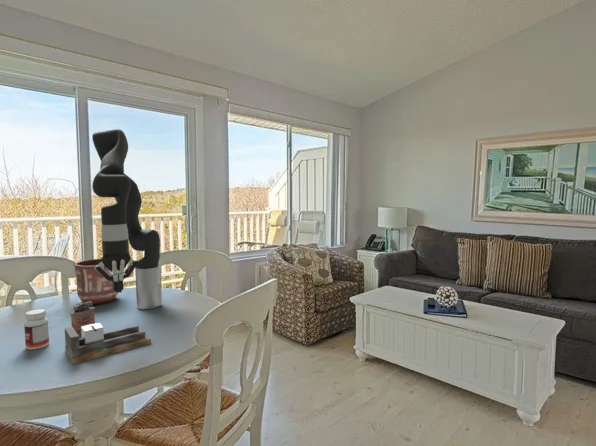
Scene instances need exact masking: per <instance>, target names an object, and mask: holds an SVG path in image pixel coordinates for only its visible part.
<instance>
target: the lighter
mask: <svg viewBox="0 0 596 446" xmlns="http://www.w3.org/2000/svg"><path fill="white" fill-rule="evenodd" d="M73 309H74V311H71V312H70V313H69V315H70V317H71V320H70V321H71V327H73V329H74V330H75V331H76V333H77V334H78V335H80V334H82V333H81V326H86V325H91V324H95V323H96V319H95V318H96V317H95V310H96V307H95V306H93V305H92V301H90V302H86V303H84V302H80V303H78V304H77V305H73Z"/></svg>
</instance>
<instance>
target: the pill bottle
mask: <svg viewBox="0 0 596 446" xmlns="http://www.w3.org/2000/svg"><path fill="white" fill-rule="evenodd" d="M46 315H47V312H46V309H42V308H41V309H33V310H28V311H26V313H25V322H24V326H23V327H24V339H25V348H26V349H27V350H39V349H43V348H46V347H47V346H48V345H49V344H50V333H49V319H48V318H47V317H46Z"/></svg>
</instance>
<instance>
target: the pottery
mask: <svg viewBox="0 0 596 446" xmlns="http://www.w3.org/2000/svg"><path fill="white" fill-rule="evenodd" d="M101 259H102V258H95V259H94V258H93V259H87V260H81V261H77V262H75V263H74V271H75V278H76V292H77V297H78V298H79V300H80V301H81V303H83V304H84V303H86V302H90V301H92V305H91V306H93V305H94V304H97V305H103V304H107V302H108V303H110V302H112V301H114V299H115V298H116V297H117V296H118V294H119V293H116V292H115V291H113V286H112V281H108V280H107V279H105V278H104V277H103V276H102V275H101V274H100V273H99V272H98V271H97V270H96V269H95V268H94V266H95V265H98V264H99V263H100V262H101ZM103 266H104V271H105V272H106V273H107V274H108V275H109V276H111V273H110V270H109V269H108V268H107V267H106V266H105V265H103Z"/></svg>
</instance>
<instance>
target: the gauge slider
mask: <svg viewBox="0 0 596 446" xmlns="http://www.w3.org/2000/svg"><path fill="white" fill-rule="evenodd" d="M103 333H104V326H103V325H102V324H101V323H100V322H97V323H96V322H95V324H91V325H86V326H81V333H80V334H81V338H82V346H84V345H88V344H92V343H96V342H100V341H104V334H103Z"/></svg>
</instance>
